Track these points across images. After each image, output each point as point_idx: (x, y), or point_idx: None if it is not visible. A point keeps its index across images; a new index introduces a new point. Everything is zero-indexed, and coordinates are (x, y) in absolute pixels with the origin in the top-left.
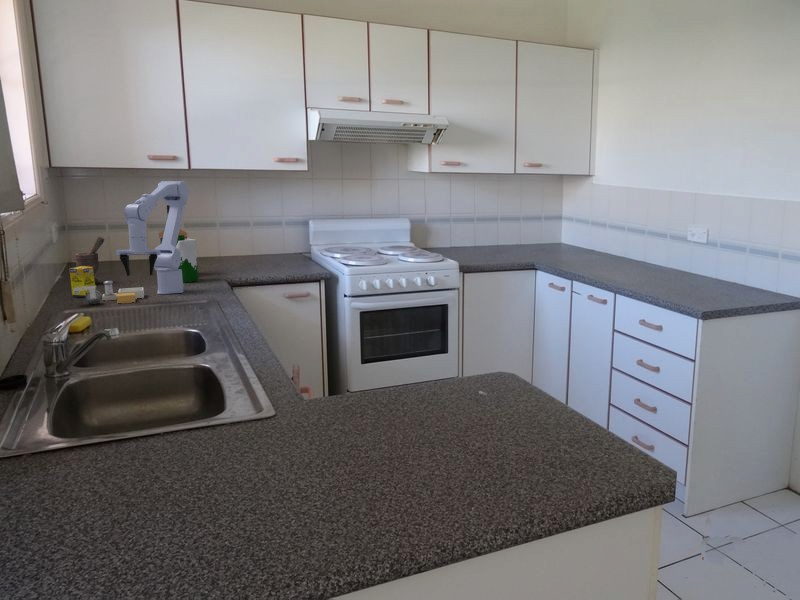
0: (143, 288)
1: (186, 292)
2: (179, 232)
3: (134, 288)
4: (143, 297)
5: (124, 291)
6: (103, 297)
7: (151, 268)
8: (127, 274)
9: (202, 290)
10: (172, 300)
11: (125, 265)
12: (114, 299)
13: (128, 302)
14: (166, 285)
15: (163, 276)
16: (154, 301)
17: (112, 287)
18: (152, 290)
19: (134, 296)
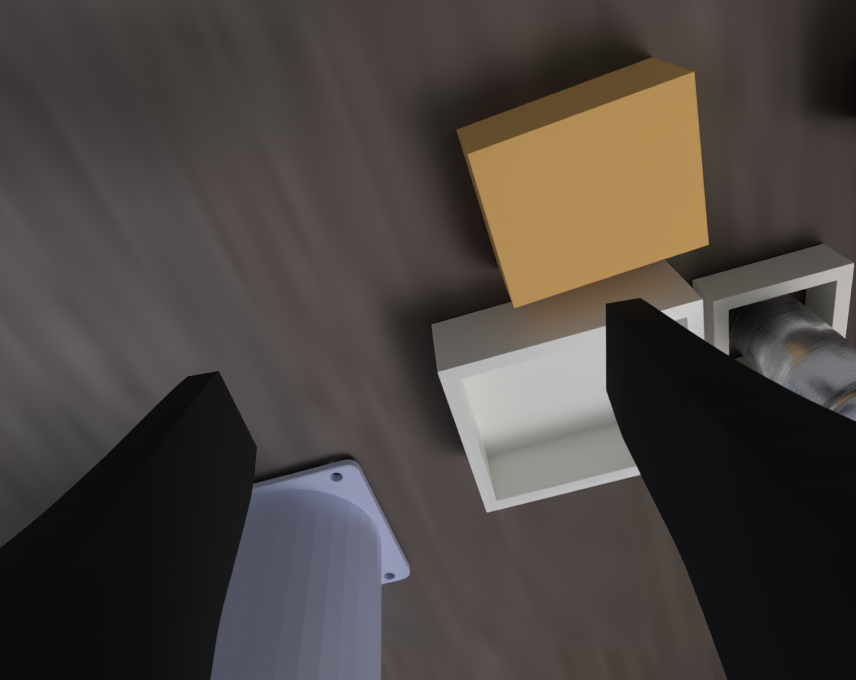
0: (481, 492)
1: None
2: None
3: (564, 480)
4: (433, 329)
5: None
6: (831, 260)
7: (112, 463)
8: (643, 306)
9: None
10: (55, 203)
11: (782, 417)
12: (709, 277)
13: (531, 103)
14: (269, 546)
15: (275, 632)
16: (247, 162)
17: None
18: (461, 587)
19: (469, 145)
